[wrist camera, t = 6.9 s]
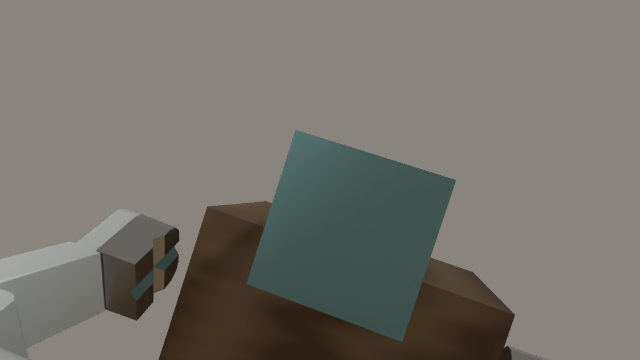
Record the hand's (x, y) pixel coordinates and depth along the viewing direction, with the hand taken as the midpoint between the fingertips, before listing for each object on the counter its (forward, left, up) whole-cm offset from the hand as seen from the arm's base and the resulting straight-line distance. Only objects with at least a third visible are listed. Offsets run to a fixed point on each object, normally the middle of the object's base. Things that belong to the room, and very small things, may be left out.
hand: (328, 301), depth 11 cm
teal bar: (-2, -12, 0) cm, 12 cm away
